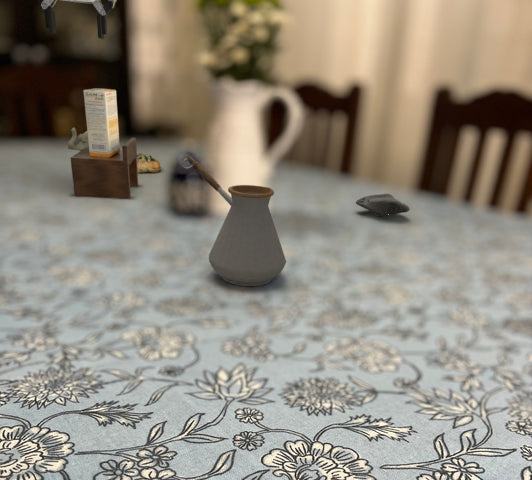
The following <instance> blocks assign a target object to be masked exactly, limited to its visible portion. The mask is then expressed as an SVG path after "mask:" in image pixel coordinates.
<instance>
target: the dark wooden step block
mask: <svg viewBox="0 0 532 480" xmlns="http://www.w3.org/2000/svg"><path fill="white" fill-rule="evenodd" d="M137 148H138V147H137V138H136V137H130V139H128V140H127V141H126V142H125V143H124V144H122V145H121V149H120V152H118V153H117V154H115V155H113V156H111V157H97V156H90V152H89V148H85V149H83V150H82V151H80V150H79V151H78V152H77V153H75V154H73V155H72V156H71V157H70V167H71V176H72V184H73V186H72V187H73V194H74V197H90V198H109V199H110V198H111V199H128V200H130V199H131V198H132V197H131V196H132V195H131V187H135V188H137V187H139V173H138V168H137V155H138V151H137V150H138V149H137Z"/></svg>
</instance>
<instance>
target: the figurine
mask: <svg viewBox="0 0 532 480" xmlns="http://www.w3.org/2000/svg"><path fill="white" fill-rule="evenodd" d="M70 131H71V134H72V136H71V138H70V140H68V141H67V149H68V150H72V151H79V152H80V151H82V150H83V149H85V148H89V142H88V132H87V130H86V131H85V132H83V133H80V134H78V133H77V129H76V128H75V127H72V128H71V129H70Z"/></svg>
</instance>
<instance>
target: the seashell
mask: <svg viewBox="0 0 532 480" xmlns="http://www.w3.org/2000/svg"><path fill="white" fill-rule="evenodd" d="M355 204H356V205H357V206H359V207H361V208H363V209H364V210H368V211H370V212H371V213H373V214H374V215H375V216H377V217H379V218H387V217H390V216H393V215H398V214H403V213H404V214H405V213H408V212H409V211H410V210H411V209H410V206H409V205H407V204H405V202H404V203H403V202H401V201H400V200H398V199H396V198H395V197H394V196H393V195H392V194H391V193H380V194H370V195H366V196H363V197H361V198H359V199H357V200H356V201H355ZM388 214H389V215H388Z"/></svg>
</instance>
